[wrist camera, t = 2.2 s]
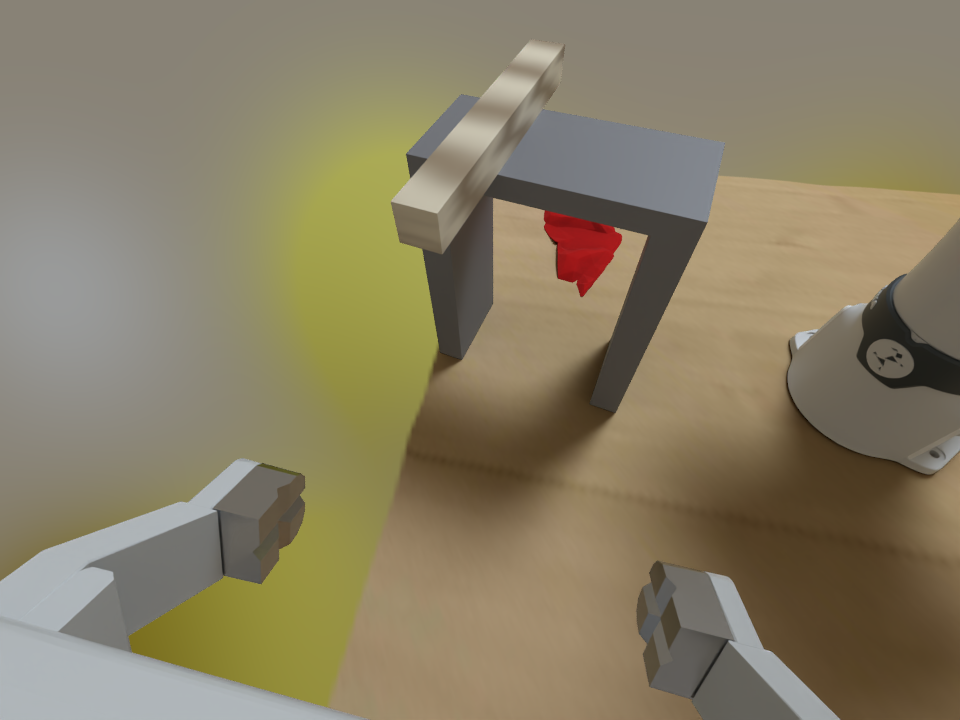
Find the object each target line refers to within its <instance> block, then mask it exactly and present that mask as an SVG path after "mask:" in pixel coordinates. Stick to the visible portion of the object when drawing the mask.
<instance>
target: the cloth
mask: <svg viewBox="0 0 960 720" xmlns="http://www.w3.org/2000/svg"><path fill="white" fill-rule="evenodd" d="M544 221H545V222H546V224H545V226H544V228H545V231H546V232H547V234H548V235H549V237H550V238H551V239H553V240H554V241H555V242H557V243H558V246H557V249H558V279H561V280H565V281H568V282H572V283H573V282H574V281H576V280H577V287H578V290H579V293H580V296H581V297H582V296H584V295H585V293H586V292H587V290H588V289H589V288H590V287H591V286H592V285H593V283H594V282H595V281H596V280H597V278H598V277H599V276H600V275H601V274H602V272H603V271H604V270H605V268H606V266H607V265H608V264H609V263H610V262H611V260H612V259H613V257H614V255H613V253H614V252H615V251H616V249H617V248H618V247H619V245H620V244H621V241H622V235H621V234H619V233H617V232H615V229H614V227H612V226H608V225H604V224H600V223H596V222H592V221H587V220H583V219H579V218H575V217H571V216H567V215H563V214H558V213H554V212H550V211H546V210H545V213H544Z"/></svg>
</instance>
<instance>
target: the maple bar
mask: <svg viewBox="0 0 960 720" xmlns="http://www.w3.org/2000/svg"><path fill="white" fill-rule="evenodd" d="M564 49H565V44H560V43H553V42H547V41H540V40H532V39H531V40H530V41H529V42H528V44H527V45H526V46H525V47H524V48H523V49H522V50H521V52H520V53H519V54H518V55H517V56H516V57H515V59H514V60H513V61H512V62H511V63H510V64H509V65H508V67H507V68H506V69H505V70H504V71H503V73H502V74H501V75H500V76H499V77H498V78H497V79H496V81H495V82H494V83H493V84H492V85H491V86H490V87H489V89H488V90H487V91H486V92H485V93H484V94H483V96H482V97H481V98H480V99H479V100H478V101H477V102H476V104H475V105H474V106H473V107H472V108H471V109H470V111H469V112H468V113H467V114H466V115H465V116H464V117H463V119H462V120H461V121H460V122H459V123H458V124H457V126H456V127H455V128H454V129H453V130H452V131H451V132H450V134H449V135H448V136H447V137H446V138H445V139H444V141H443V142H442V143H441V144H440V145H439V146H438V147H437V149H436V150H435V151H434V152H433V153H432V154H431V156H430V157H429V158H428V159H427V160H426V161H425V163H424V164H423V165H422V166H421V167H420V168H419V169H418V171H417V172H416V173H415V174H414V175H413V176H412V178H411V179H410V180H409V181H408V182H407V183H406V184H405V186H404V187H403V188H402V189H401V190H400V191H399V193H398V194H397V195H396V196H395V197H394V198H393V200H392V201H391V205H392V209H393V214H394V218H395V223H396V227H397V231H398V236H399V241H400V243H404V244H407V245H411V246H414V247H418V248H421V249H425V250H428V251H432V252H435V253H439V254H443V253H444V251H445V250H446V249H447V247H448V246H449V244H450V243H451V241H452V240H453V238H454V237H455V235H456V234H457V233H458V231H459V230H460V228H461V227H462V225H463V224H464V222H465V221H466V219H467V218H468V217H469V215H470V214H471V212H472V211H473V209H474V208H475V206H476V205H477V204H478V202H479V201H480V199H481V198H482V196H483V195H484V193H485V192H486V190H487V189H488V188H489V186H490V185H491V183H492V182H493V180H494V179H495V177H496V176H497V174H498V173H499V172H500V170H501V169H502V167H503V166H504V164H505V163H506V161H507V160H508V159H509V157H510V156H511V154H512V153H513V151H514V150H515V148H516V147H517V145H518V144H519V143H520V141H521V140H522V138H523V137H524V135H525V134H526V132H527V131H528V130H529V128H530V127H531V125H532V124H533V122H534V121H535V119H536V118H537V116H538V115H539V114H540V112H541V111H542V109H543V108H544V106H545V105H546V103H547V102H548V100H549V99H550V98H551V96H552V95H553V93H554V92H555V90H556V89H557V87H558V86H559V84H560V83H561V75H562V66H563V57H564Z"/></svg>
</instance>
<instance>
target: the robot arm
mask: <svg viewBox="0 0 960 720" xmlns="http://www.w3.org/2000/svg"><path fill="white" fill-rule="evenodd" d="M790 348H791V352H792V356H793V357H792V362H791V365H790V367H789V371H788V387H789V390H790V393H791V396H792V398H793V400H794V402H795V404H796V406H797V407H798V409H799V410H800V412H801V413H802V414H803V415H804V416H805V418H806V419H807V420H808V421H809V422H810V423H811V424H812V425H813V426H814V427H815V428H817V429H818V430H819V431H820V432H821V433H823V434H824V435H825V436H827V437H828V438H830V439H831V440H833V441H835V442H836V443H838V444H840V445H842V446H844V447H846V448H848V449H850V450H853V451H855V452H858V453H861V454H864V455H868V456H872V457H877V458H883V459H889V460H893V461H896V462H899V463H901V464H903V465H905V466H907V467H909V468H911V469H913V470H916V471H918V472H921V473H924V474H933V473H935V472H937V471H938V470H940V469H941V468H942V467H944V466H945V465H946V464H947V463H948V462H949V461H950V460H951V459H952V458H953V457H954V456H955V455H956V454H957V453H958V452H959V451H960V218H959V220H958V221H957V222H956V223H955V224H954V226H953V227H952V228H951V229H950V230H949V231H948V232H947V234H946V235H945V236H944V237H943V238H942V239H941V240H940V241H939V242H938V243H937V245H936V246H935V247H934V248H933V249H932V250H931V251H930V252H929V253H928V254H927V255H926V256H925V257H924V258H923V259H922V260H921V261H920V262H919V263H918V264H917V265H916V266H915V267H914V268H913V269H912V270H911V271H910V272H909V273H907V274H904V275H901V276H899V277H898V278H896V279H895V280H894V281H892V282H891V283H890V284H889V285H886V286H885V287H884V288H883V289H881V290H880V291H879V292H878V293H877V294H876V295H875V297H874V298H873V300H871V301H870V302H869V303H866V304H862V303H860V304H857V305H854V306H850V305H848V306H846V307H844V308H843V309H841V310H840V311H839V312H838V313H837V314H836V315H834V316H833V317H832V318H831V319H830V320H829V321H828V322H827V323H826V324H824V325H823V326H822V327H821V328H820V329H816V330H810V331H804V332H799V333H797V334H795V335H794V336H793V337H792V338H791V339H790ZM930 454H931V455H932V456H933V457H932V456H931V455H930ZM304 489H305V476H303V475H302V474H301V473H297V472H293V471H289V470H286V469H282V468H278V467H275V466H271V465H267V464H264V463H262V464H261V463H258V462H254V461H251V460H247V459H244V458H242V459H238V460H236V461H234V462H233V463H232V464H231V465H230V466H229V467H228V468H226V469H225V470H224V471H223V472H222V473H221V474H220V475H218V476H217V477H216V478H215V479H214V480H213V481H212V482H211V483H210V484H208V485H207V486H206V487H205V488H204V489H203V490H202V491H201V492H199V493H198V494H197V495H196V496H195V497H194V498H193V499H192V500H190V501H189V502H188V503H184V502H178V503H176V504H173V505H170V506H167V507H164V508H162V509H159V510H156V511H153V512H150V513H147V514H145V515H142V516H139V517H136V518H133V519H131V520H128V521H125V522H122V523H119V524H116V525H114V526H111V527H108V528H105V529H102V530H99V531H97V532H94V533H91V534H88V535H86V536H83V537H80V538H77V539H74V540H71V541H68V542H66V543H63V544H60V545H57V546H54V547H51V548H49V549H46V550H43V551H41V552H40V553H39V554H37V555H36V556H35V557H33V558H32V559H30V560H29V561H28V562H26V563H25V564H24V565H22V566H21V567H19V568H18V569H17V570H15V571H14V572H13V573H11V574H10V575H9V576H7V577H6V578H5V579H3V580H2V581H0V720H369V719H366V718H362V717H359V716H355V715H352V714H348V713H344V712H341V711H337V710H334V709H330V708H327V707H323V706H319V705H316V704H312V703H309V702H305V701H302V700H298V699H295V698H291V697H288V696H284V695H280V694H277V693H273V692H270V691H266V690H263V689H259V688H255V687H252V686H248V685H245V684H241V683H238V682H234V681H231V680H227V679H224V678H220V677H216V676H213V675H209V674H206V673H202V672H199V671H195V670H192V669H188V668H185V667H181V666H177V665H174V664H170V663H166V662H163V661H159V660H156V659H153V658H149V657H146V656H142V655H138V654H135V653H132V651H131V647H130V643H129V638H128V636H129V635H130V634H132V633H133V632H135V631H137V630H138V629H140V628H142V627H143V626H145V625H146V624H148V623H150V622H152V621H153V620H155V619H156V618H158V617H160V616H161V615H163V614H165V613H166V612H168V611H170V610H171V609H173V608H174V607H176V606H178V605H179V604H181V603H182V602H184V601H186V600H188V599H189V598H191V597H192V596H194V595H196V594H197V593H199V592H201V591H202V590H204V589H206V588H207V587H209V586H210V585H212V584H214V583H215V582H217V581H219V580H220V579H222V578H223V575H224V576H228V577H232V578H236V579H241V580H245V581H250V582H254V583H258V584H262V582H263V581H264V580H265V578H266V577H267V576H268V574H269V573H270V571H271V570H272V569H273V567H274V566H275V564H276V563H277V562H278V560H279V549H281V548H283V547H285V546H287V545H289V544H290V543H291V542H292V540H293V539H294V537H295V536H296V535H297V533H298V531H299V528H300V526H301V524H302V521H303V517H304V512H305V502H304V501H303V499H302V498H301V496H300V494H301V493H302V491H303V490H304ZM649 574H650V578H651V583H649V584H647V585H646V586H644V587H643V588H642V590H641V593H640V595H639V598H638V604H637V611H636V612H637V625H638V631H639V634H640V635H641V637H642V638H643V639H644V640H645V642H646V643H647V646H646V648H645V651H644V653H643V657H644V662H645V667H646V672H647V677H648V682H649V687H652V688H655V689H659V690H662V691H665V692H669V693H672V694H676V695H679V696H682V697H686V698H689V699H693V700H692V701H691V702H692V703H693V705H694V706H695V708H696V709H697V711H698V712H699V714H700V715H701V717H702V718H703V720H840V719H839V718H838V717H837V716H836V715H835V714H834V713H833V712H832V711H831V710H830V709H829V708H828V707H827V706H826V705H825V704H824V703H823V702H822V701H821V700H820V699H819V698H818V697H817V696H816V695H815V694H814V693H813V692H812V691H811V690H810V689H809V688H808V687H807V686H806V685H805V684H804V683H803V682H802V681H801V680H800V679H799V678H798V677H797V676H796V675H795V674H794V673H793V672H792V671H791V670H790V669H789V668H788V667H787V666H786V665H785V664H784V663H783V662H782V661H781V660H780V659H779V658H778V657H777V656H776V655H775V654H774V653H773V652H772V651H768V650H764V648H763V646H762V644H761V642H760V639H759V637H758V635H757V633H756V631H755V629H754V626H753V624H752V622H751V620H750V618H749V615H748V613H747V611H746V609H745V607H744V605H743V602H742V600H741V598H740V596H739V594H738V591H737V589H736V587H735V585H734V583H733V581H732V580H731V579H730V578H729V577H727V576H723V575H719V574H714V573H710V572H705V571H704V572H703V571H700V570H696V569H692V568H687V567H683V566H679V565H675V564H670V563H666V562H662V561H658V560H657V561H656V562H655V563H654V564H653V566H652V568H651V570H650V572H649Z"/></svg>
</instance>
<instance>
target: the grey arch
mask: <svg viewBox="0 0 960 720" xmlns="http://www.w3.org/2000/svg"><path fill="white" fill-rule="evenodd" d="M479 99H480V98H478V97H473V96H468V95H462V94H461V95H460V96H459V97H458V98H457V100H455V101H454V103H453V104H452V105H451V106H450V107H449V108H448V109H447V110H446V111H445V112H444V113H443V114H442V116H441V117H440V118H439V119H438V120H437V121H436V122H435V123H434V124H433V125H432V126H431V127H430V129H429V130H428V131H427V132H426V133H425V134H424V135H423V136H422V137H421V138H420V139H419V141H418V142H417V143H416V144H415V145H414V146H413V147H412V148H411V149H410V150H409V152H407V154H406V156H407V162H408V167H409V174H410V179H411V178H412V176H413V175H414V174H415V173H416V172H417V171H418V169H419V168H420V167H421V166H422V165H423V164H424V163H425V161H426V160H427V159H428V158H429V157H430V156H431V154H432V153H433V152H434V151H435V150H436V149H437V147H438V146H439V145H440V144H441V143H442V142H443V141H444V139H445V138H446V137H447V136H448V135H449V134H450V132H451V131H452V130H453V129H454V128H455V127H456V126H457V124H458V123H459V122H460V121H461V120H462V119H463V117H464V116H465V115H466V114H467V113H468V112H469V111H470V109H471V108H472V107H473V106H474V105H475V104H476V102H477V101H478V100H479ZM724 145H725V143H724V142H718V141H713V140H707V139H702V138H696V137H690V136H685V135H680V134H675V133H669V132H664V131H658V130H653V129H647V128H641V127H636V126H631V125H626V124H620V123H614V122H609V121H603V120H598V119H593V118H587V117H582V116H577V115H571V114H565V113H560V112H555V111H549V110H544V109H542V111H541V112H540V114H539V115H538V116H537V118H536V119H535V121H534V122H533V124H532V125H531V127H530V128H529V130H528V131H527V132H526V134H525V135H524V137H523V138H522V140H521V141H520V143H519V144H518V145H517V147H516V148H515V150H514V151H513V153H512V154H511V156H510V157H509V159H508V160H507V161H506V163H505V164H504V166H503V167H502V169H501V170H500V172H499V173H498V174H497V176H496V177H495V179H494V180H493V182H492V183H491V185H490V186H489V188H488V189H487V190H486V192H485V193H484V195H483V196H482V198H481V199H480V201H479V202H478V204H477V205H476V206H475V208H474V209H473V211H472V212H471V214H470V215H469V217H468V218H467V219H466V221H465V222H464V224H463V225H462V227H461V228H460V230H459V231H458V233H457V234H456V235H455V237H454V238H453V240H452V241H451V243H450V244H449V246H448V247H447V249H446V250H445V251H444V253H443V254H439V253H435V252H432V251H428V250H425V249H422V250H423V255H424V261H425V267H426V273H427V278H428V284H429V290H430V296H431V301H432V308H433V313H434V320H435V325H436V331H437V337H438V343H439V349H440V353H443V354H446V355H449V356H452V357H455V358H458V359H461V360H462V359H463V357H464V355H465V354H466V352H467V350H468V348H469V346H470V345H471V343H472V341H473V339H474V337H475V335H476V334H477V332H478V330H479V328H480V326H481V324H482V323H483V321H484V319H485V317H486V315H487V314H488V312H489V310H490V308H491V306H492V304H493V198H496V199H501V200H505V201H509V202H513V203H517V204H521V205H525V206H529V207H534V208H538V209H542V210H546V211H550V212H554V213H558V214H563V215H567V216H571V217H575V218H579V219H583V220H587V221H592V222H596V223H600V224H604V225H608V226H612V227H616V228H620V229H625V230H629V231H633V232H637V233H641V234H645V235H648V237H647V240H646V243H645V246H644V249H643V251H642V254H641V257H640V260H639V262H638V265H637V268H636V271H635V274H634V276H633V279H632V282H631V285H630V287H629V290H628V293H627V296H626V299H625V301H624V304H623V307H622V310H621V313H620V315H619V318H618V321H617V324H616V326H615V329H614V332H613V335H612V338H611V340H610V343H609V346H608V349H607V352H606V355H605V358H604V361H603V365H602V368H601V371H600V374H599V377H598V380H597V383H596V386H595V389H594V392H593V395H592V398H591V401H590V404H591V405H594V406H597V407H600V408H603V409H605V410H608V411H611V412H614V413H616V411H617V409H618V407H619V405H620V403H621V401H622V398H623V396H624V394H625V392H626V390H627V388H628V386H629V384H630V382H631V380H632V378H633V376H634V374H635V372H636V369H637V367H638V365H639V363H640V361H641V359H642V357H643V355H644V353H645V351H646V349H647V347H648V345H649V343H650V340H651V338H652V336H653V334H654V332H655V330H656V328H657V326H658V324H659V322H660V320H661V318H662V316H663V314H664V311H665V309H666V307H667V305H668V303H669V301H670V299H671V297H672V295H673V293H674V291H675V289H676V287H677V285H678V282H679V280H680V278H681V276H682V274H683V272H684V270H685V268H686V266H687V264H688V262H689V260H690V258H691V256H692V253H693V251H694V249H695V247H696V245H697V243H698V241H699V239H700V237H701V235H702V233H703V231H704V229H705V227H706V224H707V222H708V218H709V213H710V209H711V204H712V200H713V195H714V191H715V186H716V182H717V177H718V172H719V168H720V163H721V159H722V154H723V150H724Z"/></svg>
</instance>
